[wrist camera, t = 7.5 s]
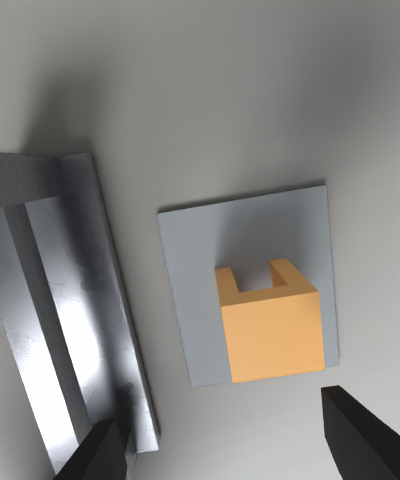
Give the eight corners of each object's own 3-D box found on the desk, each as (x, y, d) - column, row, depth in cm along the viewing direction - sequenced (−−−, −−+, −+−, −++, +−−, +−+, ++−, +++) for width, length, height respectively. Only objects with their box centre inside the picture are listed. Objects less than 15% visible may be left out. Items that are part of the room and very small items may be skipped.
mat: (336, 361, 21) (339, 365, 20) (191, 384, 21) (191, 388, 21) (323, 184, 18) (326, 185, 18) (157, 213, 18) (156, 214, 18)
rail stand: (160, 437, 22) (143, 561, 15) (79, 449, 22) (25, 577, 15) (91, 153, 17) (22, 143, 10) (-10, 171, 18) (-144, 173, 11)
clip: (291, 317, 19) (324, 369, 14) (223, 327, 20) (232, 383, 15) (285, 257, 19) (318, 291, 13) (214, 269, 19) (220, 306, 14)
